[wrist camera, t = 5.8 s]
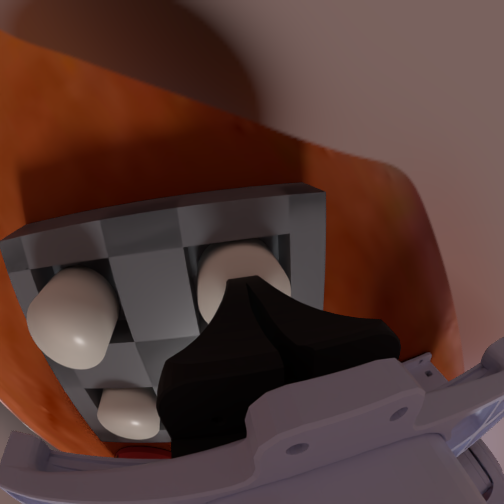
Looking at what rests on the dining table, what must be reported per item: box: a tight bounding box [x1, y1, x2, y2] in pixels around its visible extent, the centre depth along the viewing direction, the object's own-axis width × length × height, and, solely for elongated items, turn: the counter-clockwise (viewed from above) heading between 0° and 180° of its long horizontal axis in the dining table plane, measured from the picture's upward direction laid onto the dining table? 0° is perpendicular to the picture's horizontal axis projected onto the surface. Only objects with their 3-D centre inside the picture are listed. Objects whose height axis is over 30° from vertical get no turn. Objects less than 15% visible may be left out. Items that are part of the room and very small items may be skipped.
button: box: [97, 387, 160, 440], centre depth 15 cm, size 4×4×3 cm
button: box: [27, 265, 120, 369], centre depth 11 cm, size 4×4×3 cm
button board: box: [0, 182, 326, 443], centre depth 15 cm, size 16×16×3 cm
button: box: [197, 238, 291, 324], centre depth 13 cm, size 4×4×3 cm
